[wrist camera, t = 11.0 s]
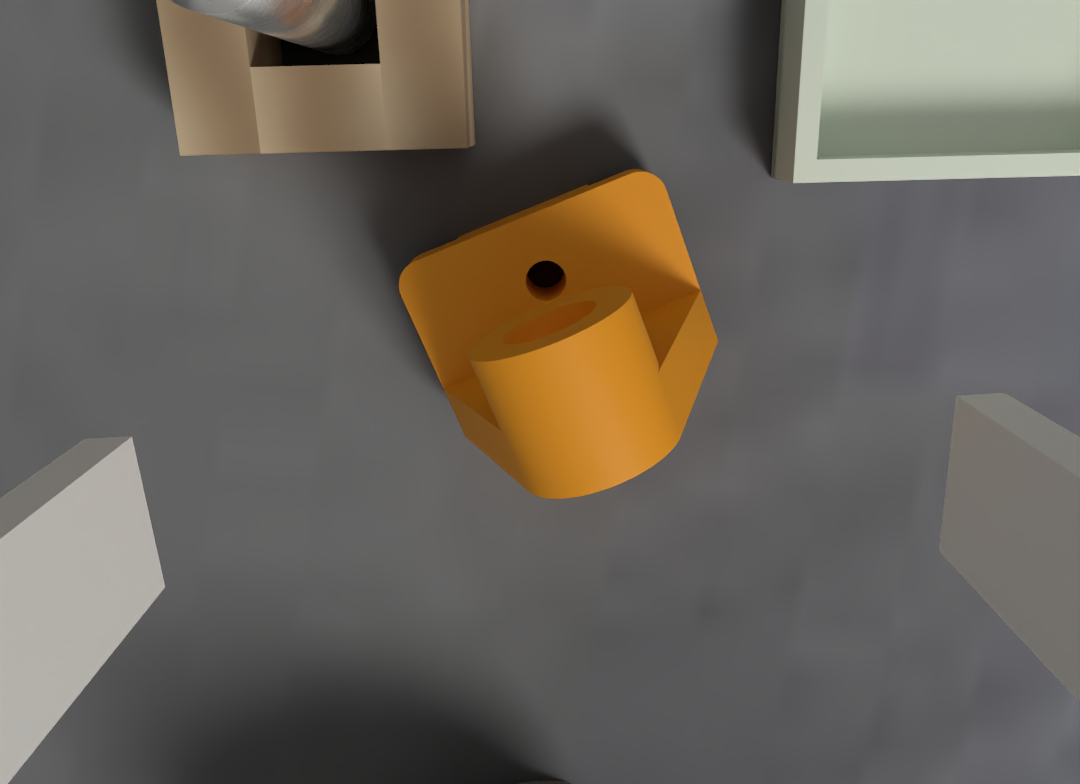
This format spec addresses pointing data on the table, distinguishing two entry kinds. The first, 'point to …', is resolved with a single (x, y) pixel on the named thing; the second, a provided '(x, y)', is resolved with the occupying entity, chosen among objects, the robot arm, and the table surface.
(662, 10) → the table surface
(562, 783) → the alarm clock
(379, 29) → the bore block
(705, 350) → the bracket
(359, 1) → the cylinder
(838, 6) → the tray
